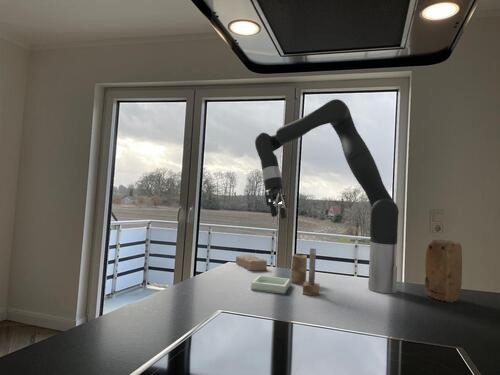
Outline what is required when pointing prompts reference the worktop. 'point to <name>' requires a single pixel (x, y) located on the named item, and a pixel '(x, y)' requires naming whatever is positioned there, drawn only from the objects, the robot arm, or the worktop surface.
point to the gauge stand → (311, 277)
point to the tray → (270, 284)
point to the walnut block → (299, 269)
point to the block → (443, 270)
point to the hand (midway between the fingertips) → (279, 217)
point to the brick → (251, 262)
